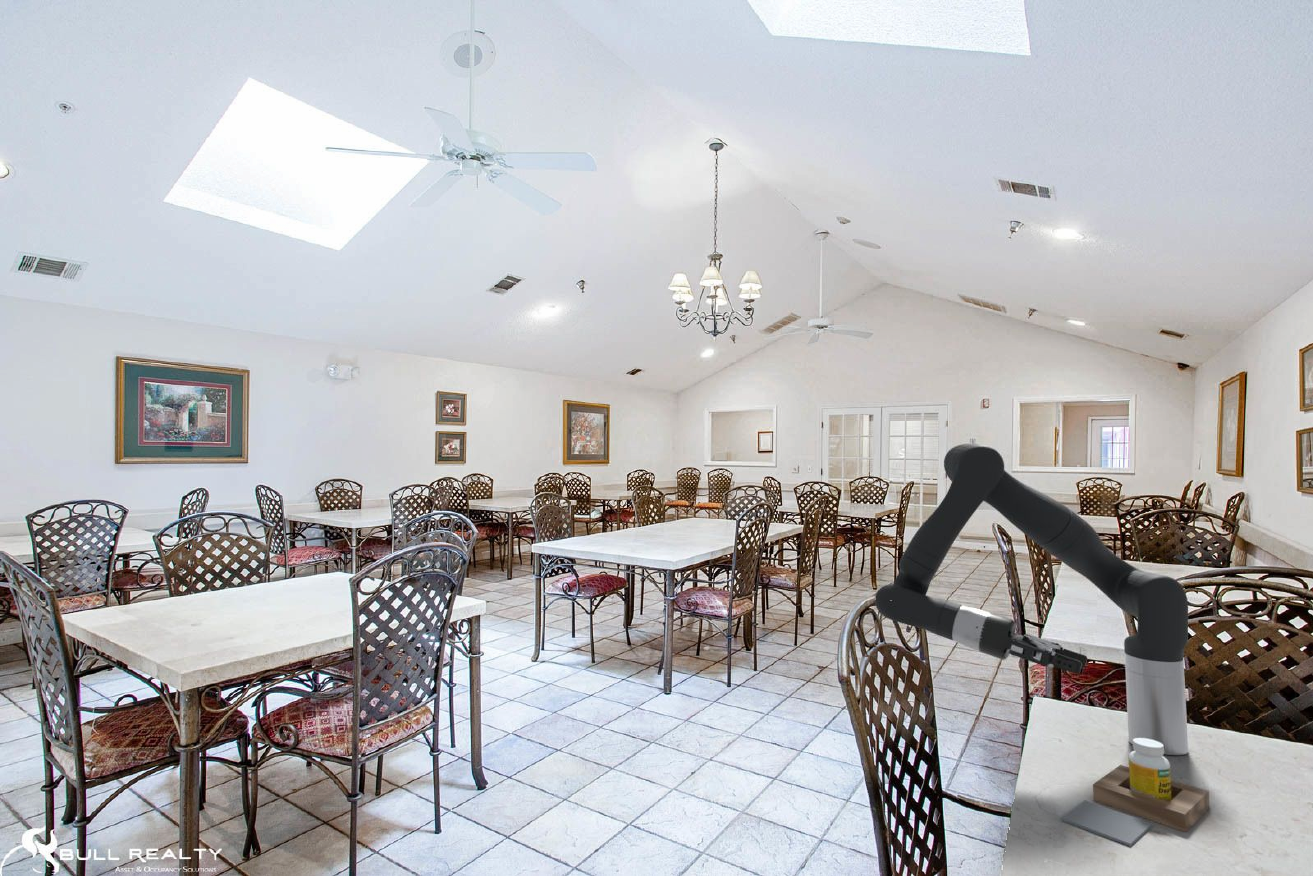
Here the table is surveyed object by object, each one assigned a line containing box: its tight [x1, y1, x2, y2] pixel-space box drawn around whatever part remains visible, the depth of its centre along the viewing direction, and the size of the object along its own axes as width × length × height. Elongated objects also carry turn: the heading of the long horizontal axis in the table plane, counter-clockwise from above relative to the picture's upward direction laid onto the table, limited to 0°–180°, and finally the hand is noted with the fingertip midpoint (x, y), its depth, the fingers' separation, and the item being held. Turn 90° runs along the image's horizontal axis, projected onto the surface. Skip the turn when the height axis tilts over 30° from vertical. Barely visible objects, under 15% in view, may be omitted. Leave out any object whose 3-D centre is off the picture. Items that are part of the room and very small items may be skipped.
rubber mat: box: [1060, 799, 1153, 848], centre depth 99 cm, size 9×9×1 cm
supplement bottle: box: [1128, 738, 1172, 802], centre depth 105 cm, size 5×5×10 cm
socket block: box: [1092, 764, 1211, 833], centre depth 105 cm, size 12×12×2 cm
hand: (1083, 665), depth 113 cm, fingers open, 8 cm apart
